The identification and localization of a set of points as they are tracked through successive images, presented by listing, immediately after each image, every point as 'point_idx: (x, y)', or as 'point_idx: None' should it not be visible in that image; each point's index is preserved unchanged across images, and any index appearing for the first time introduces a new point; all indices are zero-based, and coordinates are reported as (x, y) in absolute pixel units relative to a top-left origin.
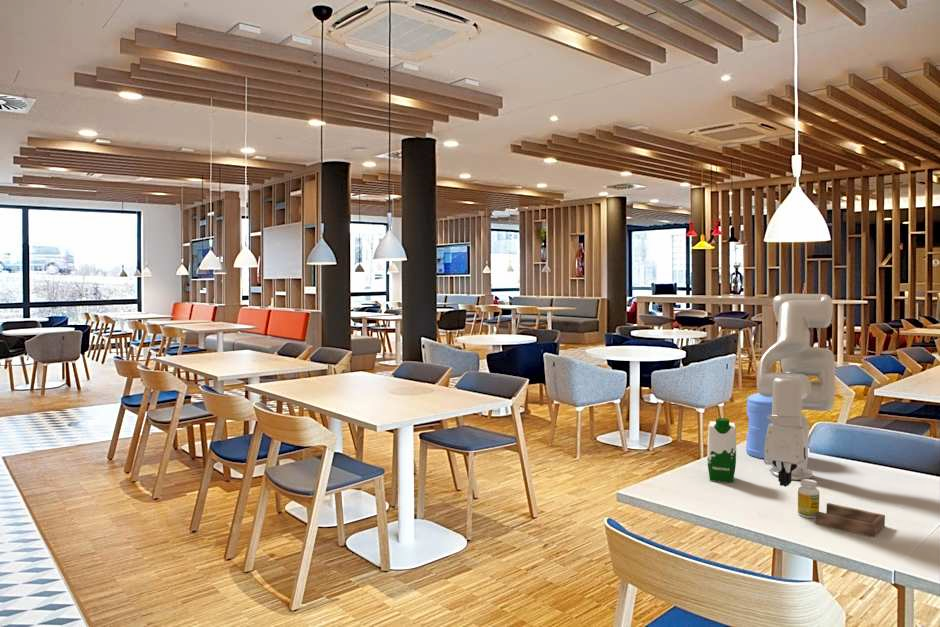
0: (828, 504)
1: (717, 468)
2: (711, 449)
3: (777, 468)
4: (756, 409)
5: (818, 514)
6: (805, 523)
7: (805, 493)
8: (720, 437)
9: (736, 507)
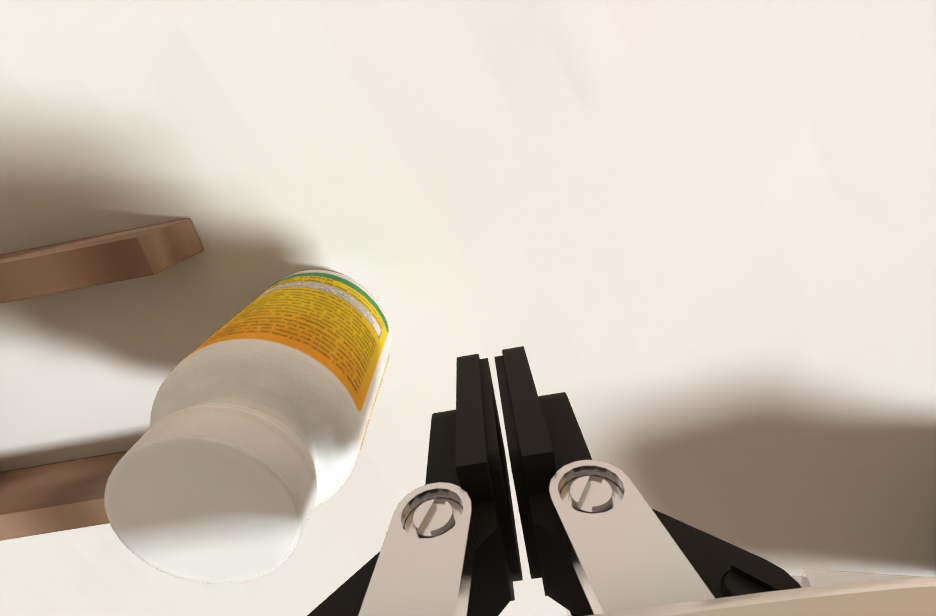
0: None
1: None
2: None
3: (624, 493)
4: None
5: (120, 238)
6: (222, 157)
7: (218, 347)
8: None
9: (769, 35)
